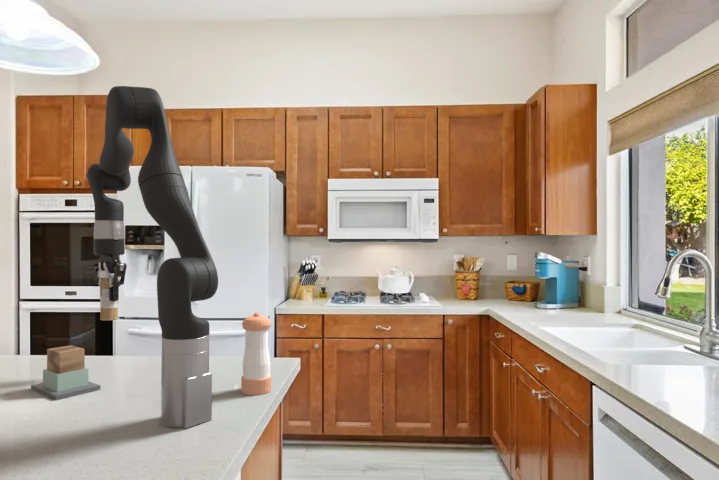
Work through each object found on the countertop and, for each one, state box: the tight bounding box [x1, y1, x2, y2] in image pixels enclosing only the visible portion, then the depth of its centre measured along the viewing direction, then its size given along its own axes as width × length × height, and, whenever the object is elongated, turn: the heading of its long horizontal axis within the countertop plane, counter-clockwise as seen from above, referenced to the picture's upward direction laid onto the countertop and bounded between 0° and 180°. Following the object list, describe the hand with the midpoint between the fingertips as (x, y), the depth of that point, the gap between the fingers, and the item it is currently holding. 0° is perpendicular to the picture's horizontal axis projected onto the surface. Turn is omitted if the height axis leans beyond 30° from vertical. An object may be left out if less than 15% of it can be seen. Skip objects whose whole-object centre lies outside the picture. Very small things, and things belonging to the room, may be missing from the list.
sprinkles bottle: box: [99, 271, 119, 322], centre depth 130 cm, size 5×5×14 cm
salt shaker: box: [240, 312, 273, 396], centre depth 118 cm, size 7×7×19 cm
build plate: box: [30, 366, 101, 401], centre depth 118 cm, size 14×10×5 cm
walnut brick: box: [46, 344, 86, 374], centre depth 118 cm, size 7×6×5 cm
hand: (109, 300), depth 130 cm, fingers closed on sprinkles bottle, 4 cm apart
